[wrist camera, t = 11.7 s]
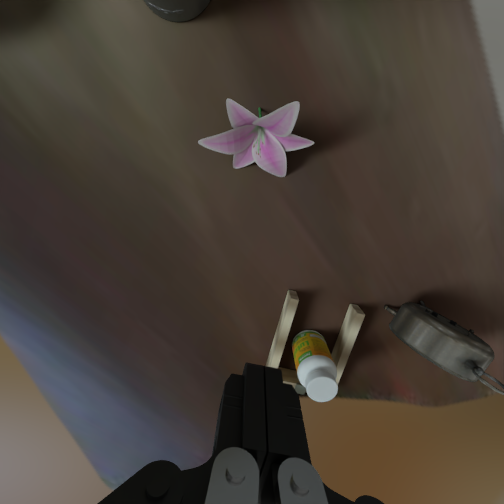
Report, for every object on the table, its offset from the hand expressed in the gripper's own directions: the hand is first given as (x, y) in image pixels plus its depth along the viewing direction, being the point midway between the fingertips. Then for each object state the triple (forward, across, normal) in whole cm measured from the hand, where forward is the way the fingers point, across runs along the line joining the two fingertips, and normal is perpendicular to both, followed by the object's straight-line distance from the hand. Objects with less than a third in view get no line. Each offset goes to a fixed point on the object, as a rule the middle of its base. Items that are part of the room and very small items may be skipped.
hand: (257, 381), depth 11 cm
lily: (+29, +2, -11) cm, 31 cm away
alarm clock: (+28, -26, +7) cm, 39 cm away
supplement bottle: (+28, -12, +16) cm, 35 cm away
